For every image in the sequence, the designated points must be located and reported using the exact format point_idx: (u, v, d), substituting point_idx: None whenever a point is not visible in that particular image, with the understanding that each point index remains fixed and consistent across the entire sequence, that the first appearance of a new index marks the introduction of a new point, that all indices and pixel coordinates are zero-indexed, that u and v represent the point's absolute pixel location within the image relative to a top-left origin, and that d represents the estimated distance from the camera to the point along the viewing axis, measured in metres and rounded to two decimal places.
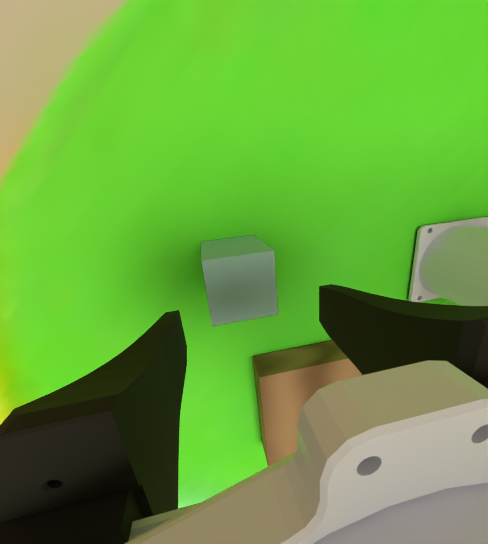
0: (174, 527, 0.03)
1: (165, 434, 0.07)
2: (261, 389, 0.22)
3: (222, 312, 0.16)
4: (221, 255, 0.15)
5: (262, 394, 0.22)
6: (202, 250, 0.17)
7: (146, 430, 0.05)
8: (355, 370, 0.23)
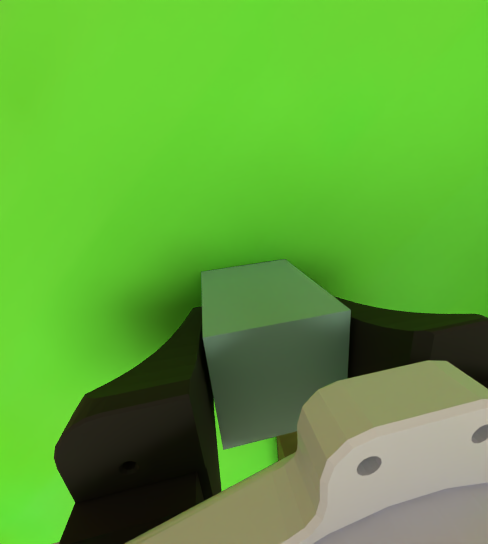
0: (174, 527, 0.03)
1: (210, 424, 0.07)
2: None
3: (243, 425, 0.08)
4: (243, 319, 0.07)
5: None
6: (204, 297, 0.09)
7: (202, 417, 0.06)
8: None
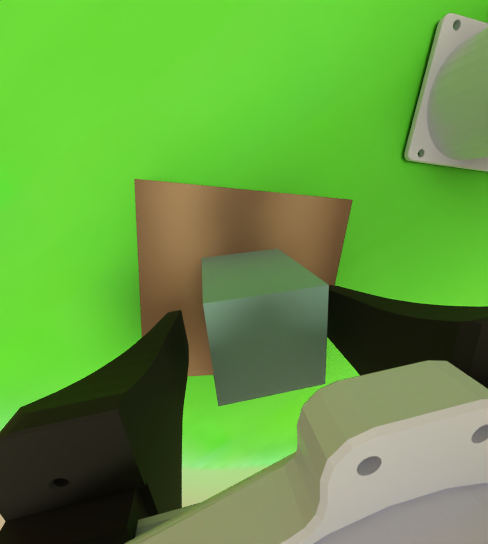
0: (174, 527, 0.03)
1: (169, 433, 0.07)
2: (137, 208, 0.12)
3: (236, 384, 0.09)
4: (237, 291, 0.09)
5: (139, 220, 0.12)
6: (204, 276, 0.11)
7: (151, 429, 0.05)
8: (308, 224, 0.14)
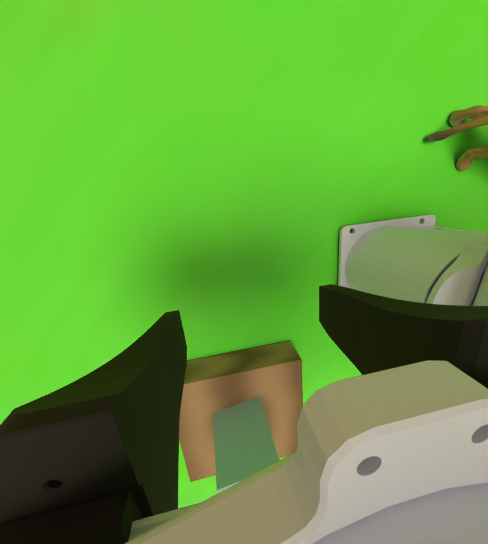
0: (174, 527, 0.03)
1: (165, 434, 0.07)
2: None
3: None
4: (233, 473, 0.17)
5: None
6: (215, 449, 0.19)
7: (146, 430, 0.05)
8: (275, 379, 0.22)
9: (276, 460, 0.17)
